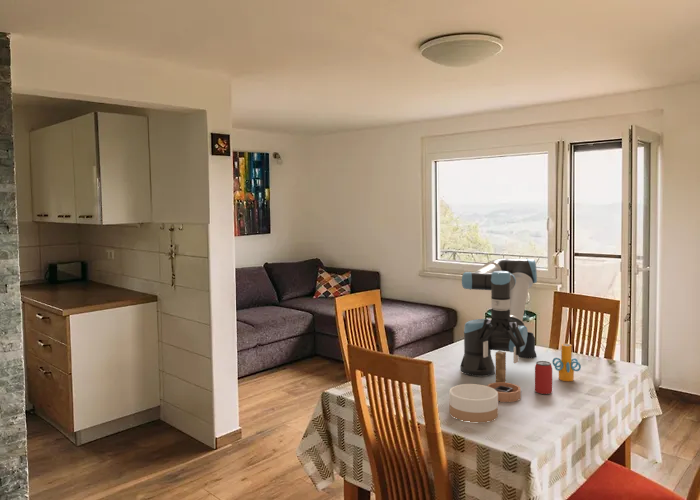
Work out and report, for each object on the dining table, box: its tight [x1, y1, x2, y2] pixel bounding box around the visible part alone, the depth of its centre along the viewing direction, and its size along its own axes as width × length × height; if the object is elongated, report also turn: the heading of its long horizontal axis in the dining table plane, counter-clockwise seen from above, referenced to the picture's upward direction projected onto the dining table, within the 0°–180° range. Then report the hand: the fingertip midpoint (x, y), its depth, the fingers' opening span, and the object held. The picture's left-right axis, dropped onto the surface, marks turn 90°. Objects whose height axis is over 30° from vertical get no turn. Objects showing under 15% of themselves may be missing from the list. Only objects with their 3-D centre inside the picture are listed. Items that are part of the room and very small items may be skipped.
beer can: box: [534, 360, 553, 395], centre depth 221 cm, size 7×7×12 cm
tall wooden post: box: [495, 351, 507, 383], centre depth 230 cm, size 3×3×14 cm
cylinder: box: [551, 343, 582, 382], centre depth 235 cm, size 12×10×15 cm
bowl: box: [448, 383, 499, 423], centre depth 200 cm, size 17×17×8 cm
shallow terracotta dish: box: [486, 381, 522, 403], centre depth 217 cm, size 13×13×4 cm
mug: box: [518, 331, 538, 359], centre depth 273 cm, size 12×9×11 cm
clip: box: [495, 386, 513, 393], centre depth 217 cm, size 5×5×2 cm
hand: (500, 359), depth 229 cm, fingers open, 13 cm apart
